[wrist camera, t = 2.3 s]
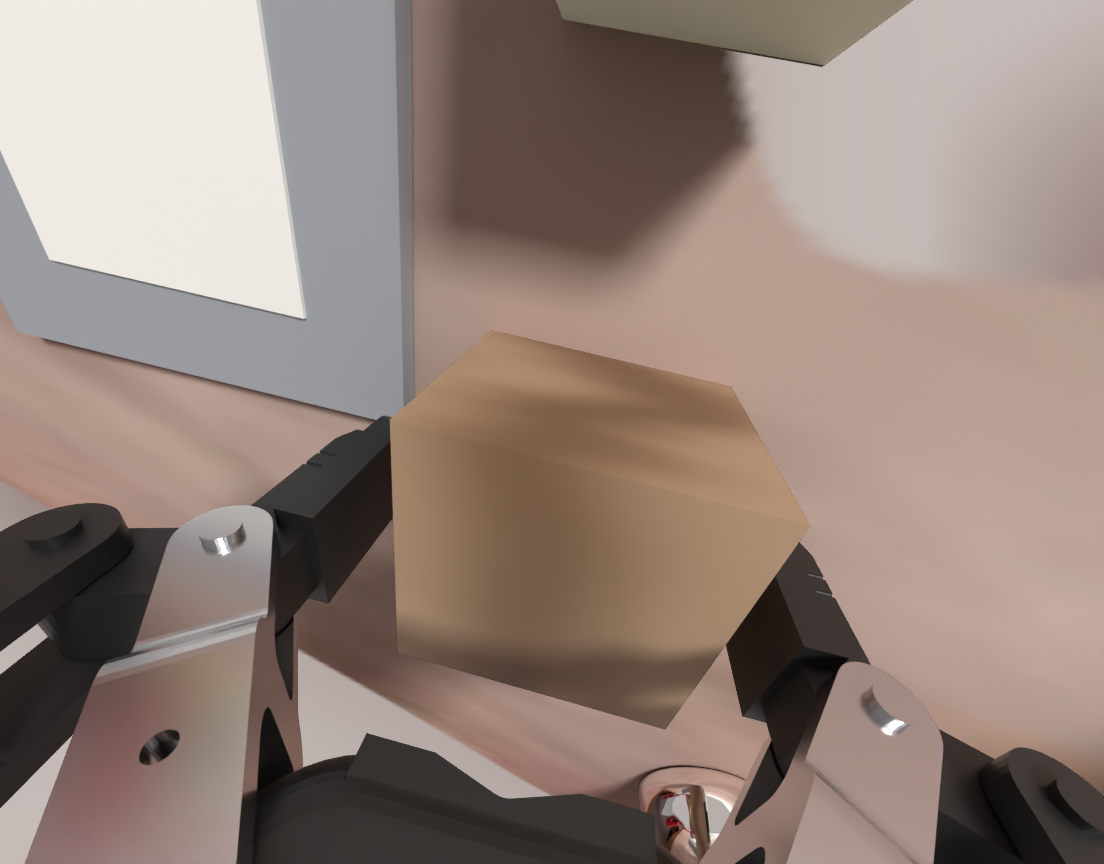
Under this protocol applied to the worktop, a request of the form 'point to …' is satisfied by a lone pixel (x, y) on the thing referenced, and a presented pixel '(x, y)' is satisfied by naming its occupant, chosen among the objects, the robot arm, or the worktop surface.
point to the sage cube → (745, 23)
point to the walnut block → (581, 525)
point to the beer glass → (688, 807)
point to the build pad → (215, 189)
